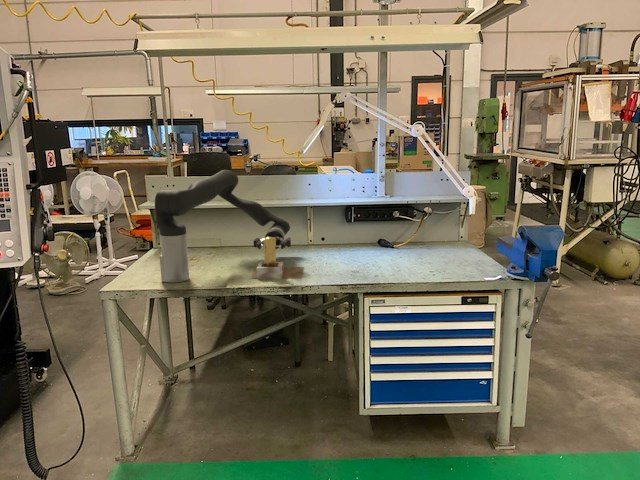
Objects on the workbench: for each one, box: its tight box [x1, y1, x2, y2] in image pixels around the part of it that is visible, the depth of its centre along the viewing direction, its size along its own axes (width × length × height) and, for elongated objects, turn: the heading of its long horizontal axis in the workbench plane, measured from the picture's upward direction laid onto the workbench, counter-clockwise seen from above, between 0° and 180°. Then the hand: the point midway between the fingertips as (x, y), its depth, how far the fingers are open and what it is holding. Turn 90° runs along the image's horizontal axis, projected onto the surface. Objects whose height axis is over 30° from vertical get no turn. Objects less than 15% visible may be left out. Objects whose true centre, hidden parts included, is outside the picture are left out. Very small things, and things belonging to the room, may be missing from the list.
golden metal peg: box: [263, 236, 277, 267], centre depth 176 cm, size 4×4×14 cm
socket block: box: [249, 261, 305, 280], centre depth 181 cm, size 19×16×5 cm
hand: (270, 246), depth 178 cm, fingers open, 8 cm apart
